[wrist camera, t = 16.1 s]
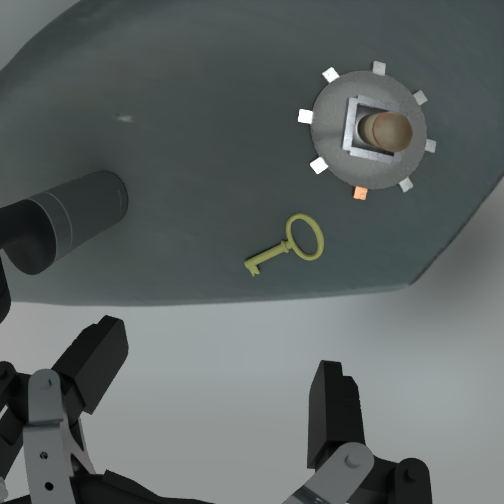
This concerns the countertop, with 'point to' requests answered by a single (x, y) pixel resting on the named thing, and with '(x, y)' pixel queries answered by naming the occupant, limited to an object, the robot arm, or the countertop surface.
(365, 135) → the pin
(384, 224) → the countertop surface
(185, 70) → the countertop surface
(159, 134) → the countertop surface
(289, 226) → the key
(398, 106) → the sprocket plate
